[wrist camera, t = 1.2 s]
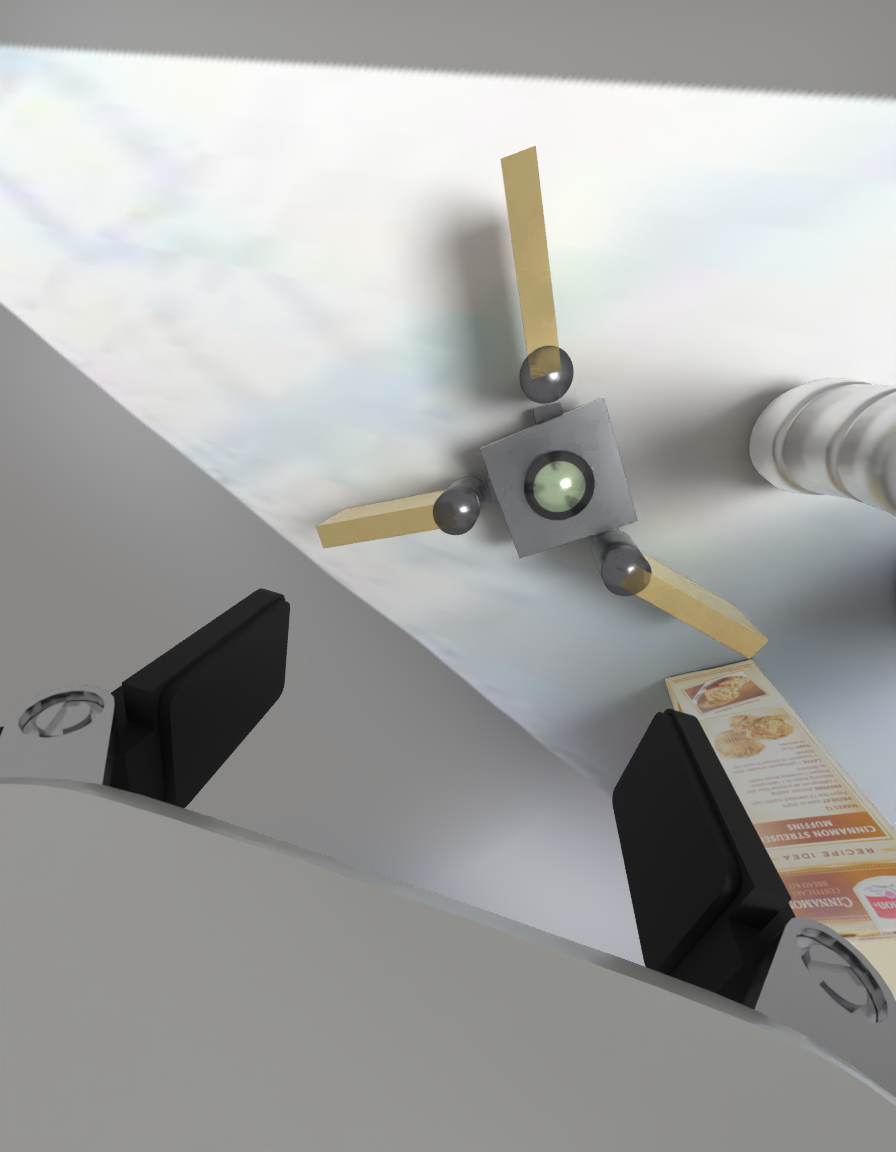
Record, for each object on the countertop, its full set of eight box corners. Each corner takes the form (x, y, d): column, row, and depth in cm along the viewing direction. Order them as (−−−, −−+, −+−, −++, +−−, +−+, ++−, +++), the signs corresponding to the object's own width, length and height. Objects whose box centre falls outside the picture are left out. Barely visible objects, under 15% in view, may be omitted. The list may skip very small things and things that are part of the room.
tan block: (484, 469, 32) (471, 487, 26) (491, 504, 33) (480, 531, 26) (355, 495, 35) (313, 517, 28) (365, 527, 36) (326, 556, 29)
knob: (581, 544, 33) (593, 582, 26) (602, 514, 32) (621, 545, 25) (699, 612, 34) (742, 665, 27) (725, 584, 32) (777, 633, 26)
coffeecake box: (661, 677, 36) (785, 940, 19) (754, 655, 34) (995, 931, 16) (702, 802, 40) (834, 1115, 23) (787, 791, 38) (1007, 1126, 21)
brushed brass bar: (565, 397, 30) (576, 396, 23) (525, 407, 30) (523, 408, 23) (544, 209, 26) (549, 140, 19) (499, 225, 27) (488, 164, 20)
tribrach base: (590, 384, 29) (601, 380, 24) (626, 517, 32) (643, 537, 27) (469, 435, 32) (458, 441, 27) (513, 553, 34) (510, 577, 30)
